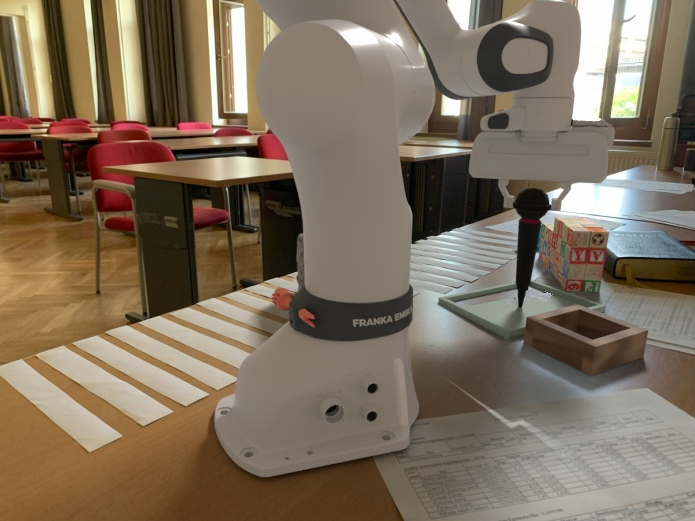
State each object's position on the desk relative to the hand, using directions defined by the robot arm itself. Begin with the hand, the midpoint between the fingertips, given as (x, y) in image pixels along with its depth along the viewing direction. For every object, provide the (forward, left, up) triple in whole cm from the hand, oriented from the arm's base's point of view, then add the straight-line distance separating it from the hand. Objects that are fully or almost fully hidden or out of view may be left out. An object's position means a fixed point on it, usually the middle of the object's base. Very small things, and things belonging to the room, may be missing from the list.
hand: (531, 208), depth 82 cm
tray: (0, 0, -17) cm, 17 cm away
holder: (-4, -15, -17) cm, 23 cm away
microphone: (0, 0, -17) cm, 17 cm away
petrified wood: (-23, +18, -18) cm, 34 cm away
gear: (+32, +23, -19) cm, 43 cm away
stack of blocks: (+22, +9, -18) cm, 30 cm away
